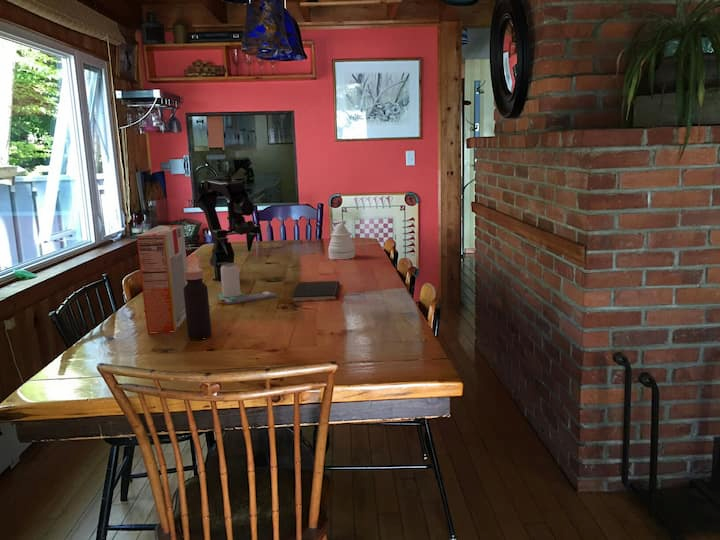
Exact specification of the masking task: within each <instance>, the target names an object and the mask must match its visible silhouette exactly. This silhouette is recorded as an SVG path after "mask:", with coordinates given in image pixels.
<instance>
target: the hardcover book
mask: <svg viewBox="0 0 720 540" xmlns="http://www.w3.org/2000/svg"><path fill="white" fill-rule="evenodd" d="M339 290H340V281H339V280H324V281H323V280H321V281H320V280H319V281H299V282H298V283H297V285H296V287H295V289H294V291H293V293H292V295H291V298H292V301H293V302H306V301H307V302H309V301H308V300H314V301H327V300H326V299H337V300H338V294H339ZM305 300H306V301H305Z"/></svg>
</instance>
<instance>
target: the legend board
mask: <svg viewBox="0 0 720 540" xmlns="http://www.w3.org/2000/svg"><path fill="white" fill-rule="evenodd" d="M273 298H277V295H276V293H274V292H273V291H261V293H252V294H246V295H244V296H239V297H234V296H231V297H229V298H225V299H224V301H225V302H224V301H223V302H224V303H225V304H227V305H232V304H234V305H235V304H240V303H246V302H252V301H260V300H265V299H266V300H267V299H273Z"/></svg>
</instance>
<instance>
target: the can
mask: <svg viewBox="0 0 720 540" xmlns="http://www.w3.org/2000/svg"><path fill="white" fill-rule="evenodd" d="M221 266H222V267H221V280H222V281H221V290H222V294H223V296H224V297H225V298H229V297H231V296H234V297H238V296H240V292H241V284H240V273H239V272H240V271H239V270H240V269H239V266H238V264H237V263H235V262H234V263H225V264H222V265H221Z"/></svg>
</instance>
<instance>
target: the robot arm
mask: <svg viewBox="0 0 720 540" xmlns="http://www.w3.org/2000/svg"><path fill="white" fill-rule="evenodd" d="M219 193H222V195H223V196H224V197H226V198H225V200H224V202H225V203H226V205H227V215H228V216H226V217H227V220H228V227H227V230H226V229H224V228H223V229H222V226H221V225H222V224H221V223H220V219H219V216H218V213H217V209H216V208H217V204H218V197H219V196H220V195H219ZM194 200H195V202H196V204H197V207H198V208H199V209H200V210H201V211H202V212H203V213H204V216H205V219H206V220H205V221H206V223H207V226H208V229H209V233H210V236H211V238H212V242H213V246H212V249H211V253H212V254H211V257H210V259H209V264H210V266H211V267H214V268H213V269H214V270H213V271H214V278H212V280H213V281H220V282H222V280H221V267H222V266H221V265H222V264H225V263H235V252H234V248H233V245H232V242H230V241H229V237H227V236H231V235H240V236H241V235H242V236H243V235H245V237H246V247H247V251H248V253H249V252H251V250H252V246H253V243H254V240H255V238H256V237H257V236H259V234H262V228H261V226H259V225H256V224H255V221H254V220H248V221H246V217H245V216H247V217H249V216H252V215H253V214H254V212H255V205H254V203H253V202H252V201H250V198H249V194H248V192H247V190H246V189H245V187H244V185H243V183H242V182H241V181H232V182H225V181H221V180H218V179H207V180H205V181H204V183H203V184H202V185H201V186H200V187H198V189H196V193H195V194H194Z"/></svg>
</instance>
